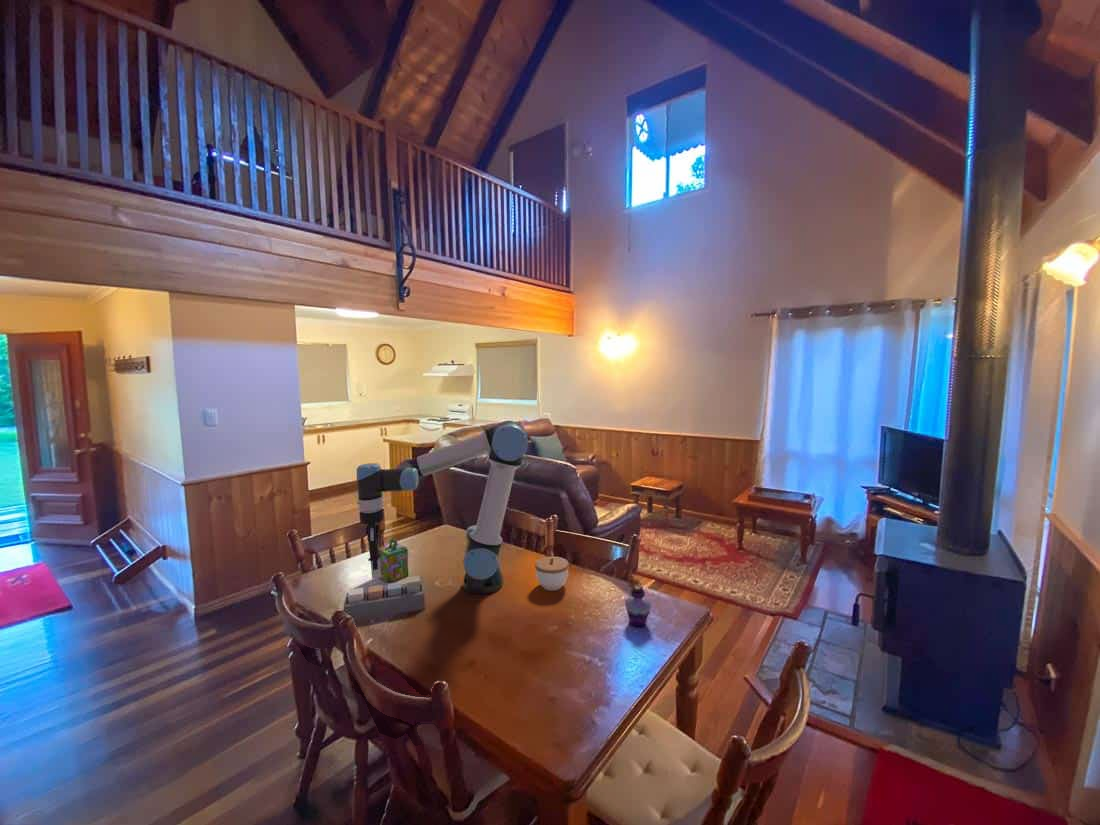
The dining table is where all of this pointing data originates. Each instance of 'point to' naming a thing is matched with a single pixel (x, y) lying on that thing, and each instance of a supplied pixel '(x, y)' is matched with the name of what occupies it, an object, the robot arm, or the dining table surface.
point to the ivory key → (356, 595)
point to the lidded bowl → (552, 572)
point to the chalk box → (393, 562)
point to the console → (385, 604)
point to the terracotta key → (375, 592)
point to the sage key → (413, 584)
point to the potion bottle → (637, 607)
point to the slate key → (394, 589)
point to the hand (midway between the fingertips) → (376, 577)
